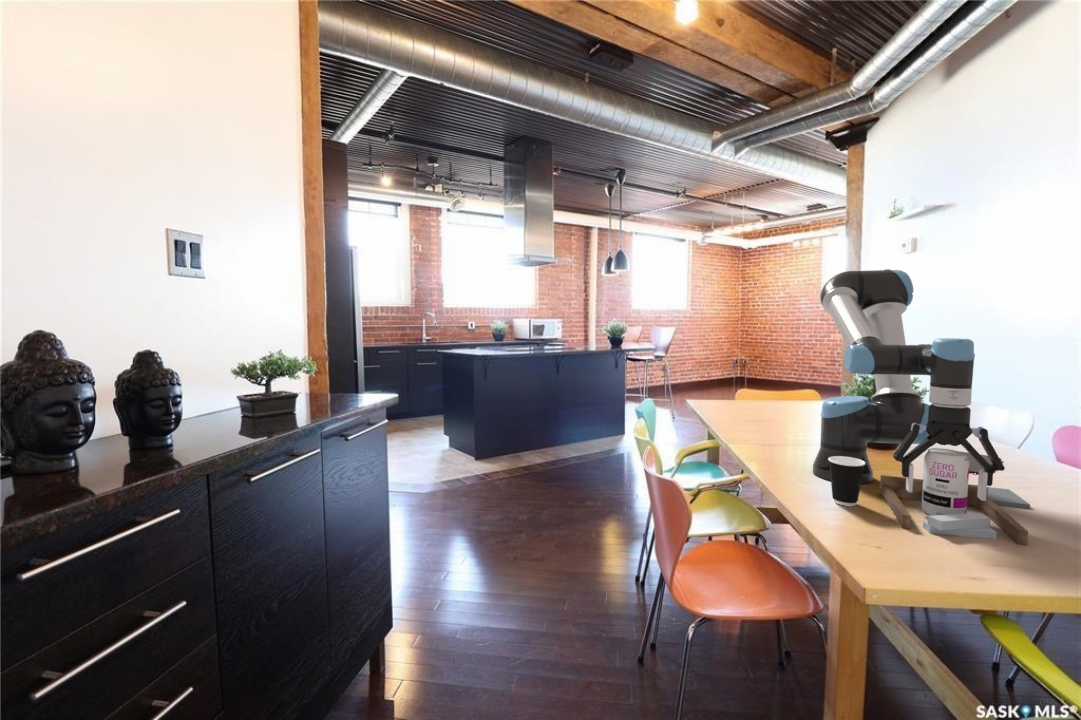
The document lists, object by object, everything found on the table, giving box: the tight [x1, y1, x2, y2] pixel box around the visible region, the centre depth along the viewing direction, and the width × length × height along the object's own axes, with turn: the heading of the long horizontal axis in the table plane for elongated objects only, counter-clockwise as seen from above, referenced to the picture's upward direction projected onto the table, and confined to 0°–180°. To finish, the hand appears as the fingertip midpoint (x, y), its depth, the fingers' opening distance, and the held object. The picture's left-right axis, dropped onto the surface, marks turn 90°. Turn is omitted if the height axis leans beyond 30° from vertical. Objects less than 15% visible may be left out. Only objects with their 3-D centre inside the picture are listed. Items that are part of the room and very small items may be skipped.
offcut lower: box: [922, 520, 998, 540], centre depth 107 cm, size 12×3×2 cm, turn 75°
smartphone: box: [962, 451, 1002, 474], centre depth 157 cm, size 12×2×25 cm
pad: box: [987, 486, 1031, 509], centre depth 128 cm, size 12×12×1 cm
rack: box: [879, 474, 1029, 546], centre depth 116 cm, size 22×24×5 cm
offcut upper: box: [927, 512, 991, 530], centre depth 107 cm, size 12×3×2 cm, turn 98°
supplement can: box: [921, 447, 970, 516], centre depth 116 cm, size 8×8×15 cm
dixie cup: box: [828, 456, 866, 507], centre depth 124 cm, size 8×8×11 cm
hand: (944, 494), depth 117 cm, fingers open, 13 cm apart
